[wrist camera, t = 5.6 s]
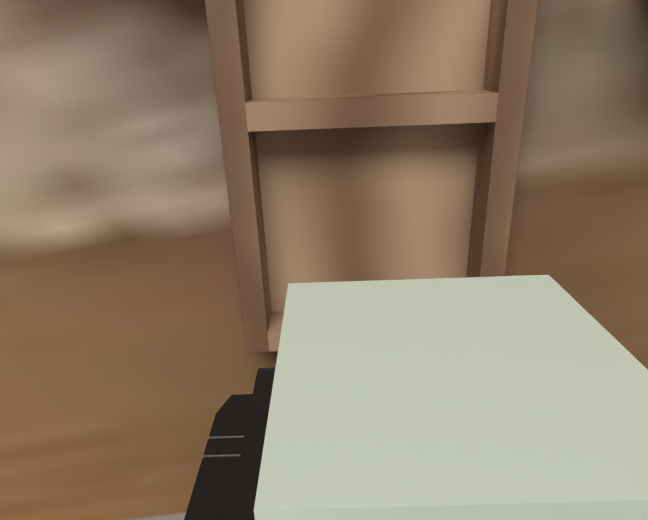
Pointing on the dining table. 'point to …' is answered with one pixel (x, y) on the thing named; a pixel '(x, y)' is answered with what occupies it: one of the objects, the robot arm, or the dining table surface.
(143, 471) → the dining table surface
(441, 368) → the sage block
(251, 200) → the walnut tray
